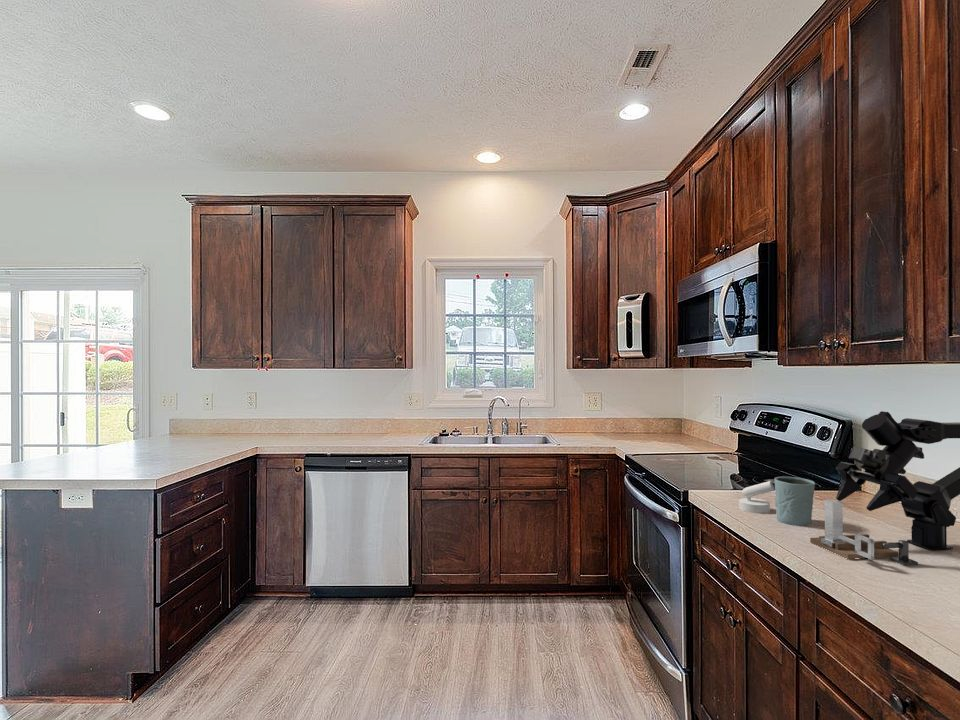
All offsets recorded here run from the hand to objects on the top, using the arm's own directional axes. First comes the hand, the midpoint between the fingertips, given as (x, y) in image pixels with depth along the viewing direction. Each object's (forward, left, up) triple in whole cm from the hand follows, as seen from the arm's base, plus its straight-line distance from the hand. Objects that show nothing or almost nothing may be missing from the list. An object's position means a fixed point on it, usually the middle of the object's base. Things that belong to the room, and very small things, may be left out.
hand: (852, 504), depth 131 cm
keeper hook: (-3, +9, -11) cm, 15 cm away
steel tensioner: (+5, +5, -9) cm, 12 cm away
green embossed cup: (-2, -23, -11) cm, 26 cm away
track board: (0, 0, -11) cm, 11 cm away
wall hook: (+1, -36, -11) cm, 38 cm away
